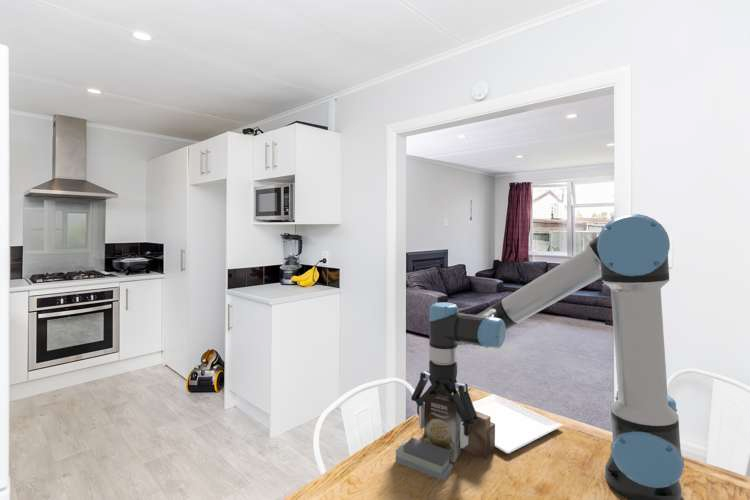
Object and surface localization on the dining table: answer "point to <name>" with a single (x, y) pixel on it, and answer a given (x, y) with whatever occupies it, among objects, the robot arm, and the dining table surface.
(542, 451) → the dining table surface
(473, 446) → the walnut block
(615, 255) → the robot arm
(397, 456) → the sleeved eraser
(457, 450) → the coffee box
